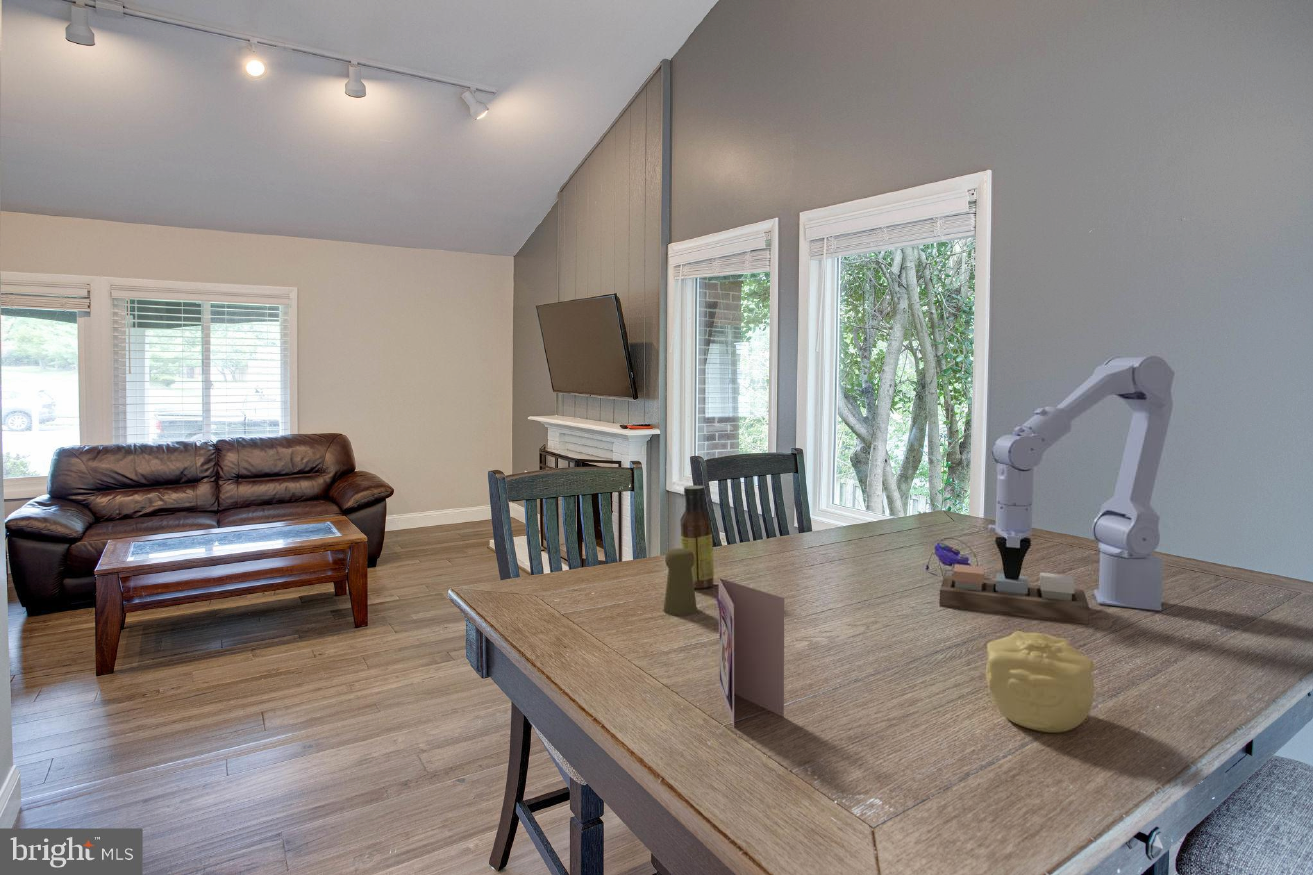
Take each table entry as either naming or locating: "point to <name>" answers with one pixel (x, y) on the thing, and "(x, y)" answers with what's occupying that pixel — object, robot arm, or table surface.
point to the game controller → (949, 555)
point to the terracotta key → (968, 577)
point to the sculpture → (1040, 681)
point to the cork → (680, 583)
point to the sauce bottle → (698, 536)
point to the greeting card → (751, 646)
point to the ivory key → (1056, 586)
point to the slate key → (1011, 585)
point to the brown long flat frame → (1015, 602)
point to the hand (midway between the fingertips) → (1011, 578)
